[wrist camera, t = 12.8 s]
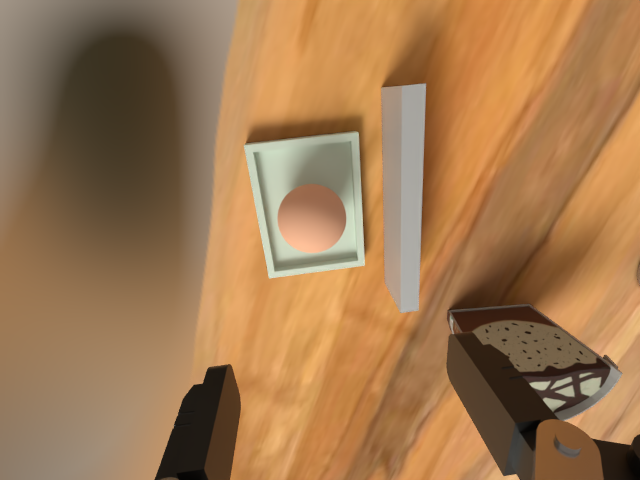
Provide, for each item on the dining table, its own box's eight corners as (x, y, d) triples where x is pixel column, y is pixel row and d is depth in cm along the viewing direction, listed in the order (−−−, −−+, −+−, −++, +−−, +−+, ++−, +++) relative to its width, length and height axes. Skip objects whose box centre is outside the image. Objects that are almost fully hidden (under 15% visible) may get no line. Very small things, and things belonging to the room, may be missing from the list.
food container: (427, 355, 38) (473, 438, 28) (434, 311, 35) (486, 387, 26) (528, 345, 38) (604, 423, 29) (542, 302, 36) (628, 372, 27)
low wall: (401, 85, 26) (426, 83, 21) (400, 280, 33) (418, 310, 28) (381, 87, 25) (401, 85, 21) (384, 282, 33) (400, 312, 28)
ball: (338, 173, 27) (349, 190, 22) (343, 232, 30) (353, 260, 25) (274, 180, 27) (270, 199, 22) (283, 240, 30) (281, 269, 25)
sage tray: (355, 130, 27) (358, 132, 26) (362, 259, 32) (364, 265, 30) (245, 143, 26) (243, 145, 25) (269, 271, 31) (269, 278, 30)
